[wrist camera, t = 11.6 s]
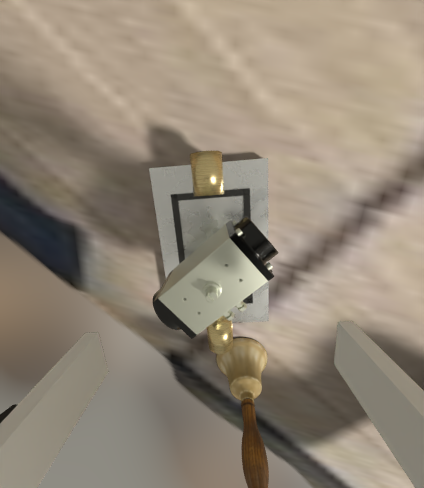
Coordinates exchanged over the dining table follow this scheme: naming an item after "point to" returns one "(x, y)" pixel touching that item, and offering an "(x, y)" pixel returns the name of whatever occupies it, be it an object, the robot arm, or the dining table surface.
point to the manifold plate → (211, 219)
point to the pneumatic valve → (215, 278)
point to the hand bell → (248, 403)
